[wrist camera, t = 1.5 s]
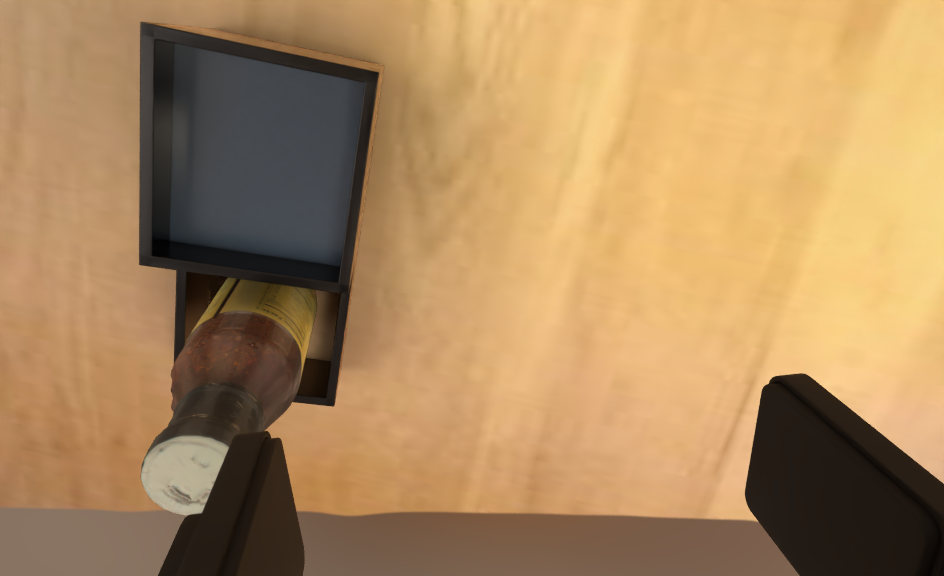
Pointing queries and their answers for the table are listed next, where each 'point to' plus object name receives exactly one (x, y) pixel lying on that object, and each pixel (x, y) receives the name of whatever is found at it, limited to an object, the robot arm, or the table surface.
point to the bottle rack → (254, 170)
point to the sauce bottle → (228, 385)
